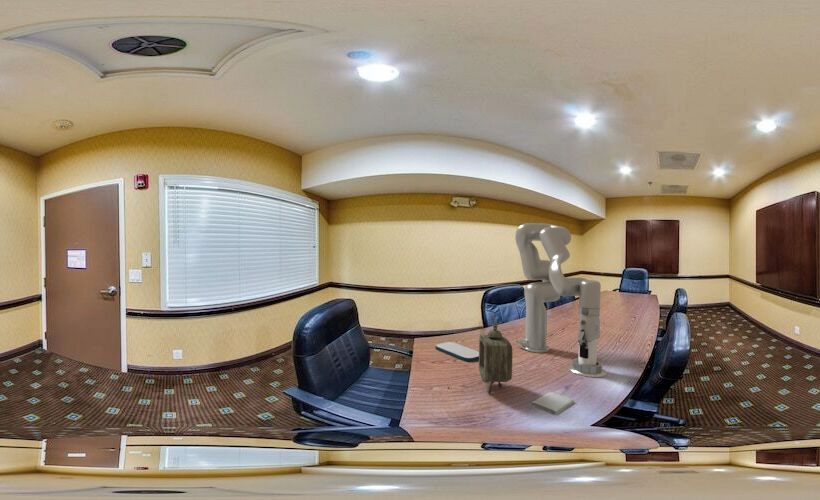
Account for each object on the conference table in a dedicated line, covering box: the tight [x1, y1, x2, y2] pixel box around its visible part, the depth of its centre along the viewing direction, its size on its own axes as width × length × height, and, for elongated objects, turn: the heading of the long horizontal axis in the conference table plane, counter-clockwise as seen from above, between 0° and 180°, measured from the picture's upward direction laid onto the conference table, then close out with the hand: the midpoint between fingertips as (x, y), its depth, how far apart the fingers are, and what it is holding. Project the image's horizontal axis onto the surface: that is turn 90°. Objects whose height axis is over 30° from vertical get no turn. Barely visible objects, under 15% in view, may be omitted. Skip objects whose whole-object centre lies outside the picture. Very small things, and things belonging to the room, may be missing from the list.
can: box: [577, 338, 598, 366], centre depth 148 cm, size 6×6×12 cm
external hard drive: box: [435, 341, 479, 363], centre depth 168 cm, size 24×12×2 cm, turn 35°
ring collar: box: [567, 357, 608, 379], centre depth 148 cm, size 14×14×4 cm
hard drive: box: [530, 391, 575, 415], centre depth 119 cm, size 2×8×12 cm
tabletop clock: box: [478, 316, 513, 394], centre depth 130 cm, size 14×9×25 cm, turn 178°
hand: (587, 355), depth 148 cm, fingers closed on can, 6 cm apart
